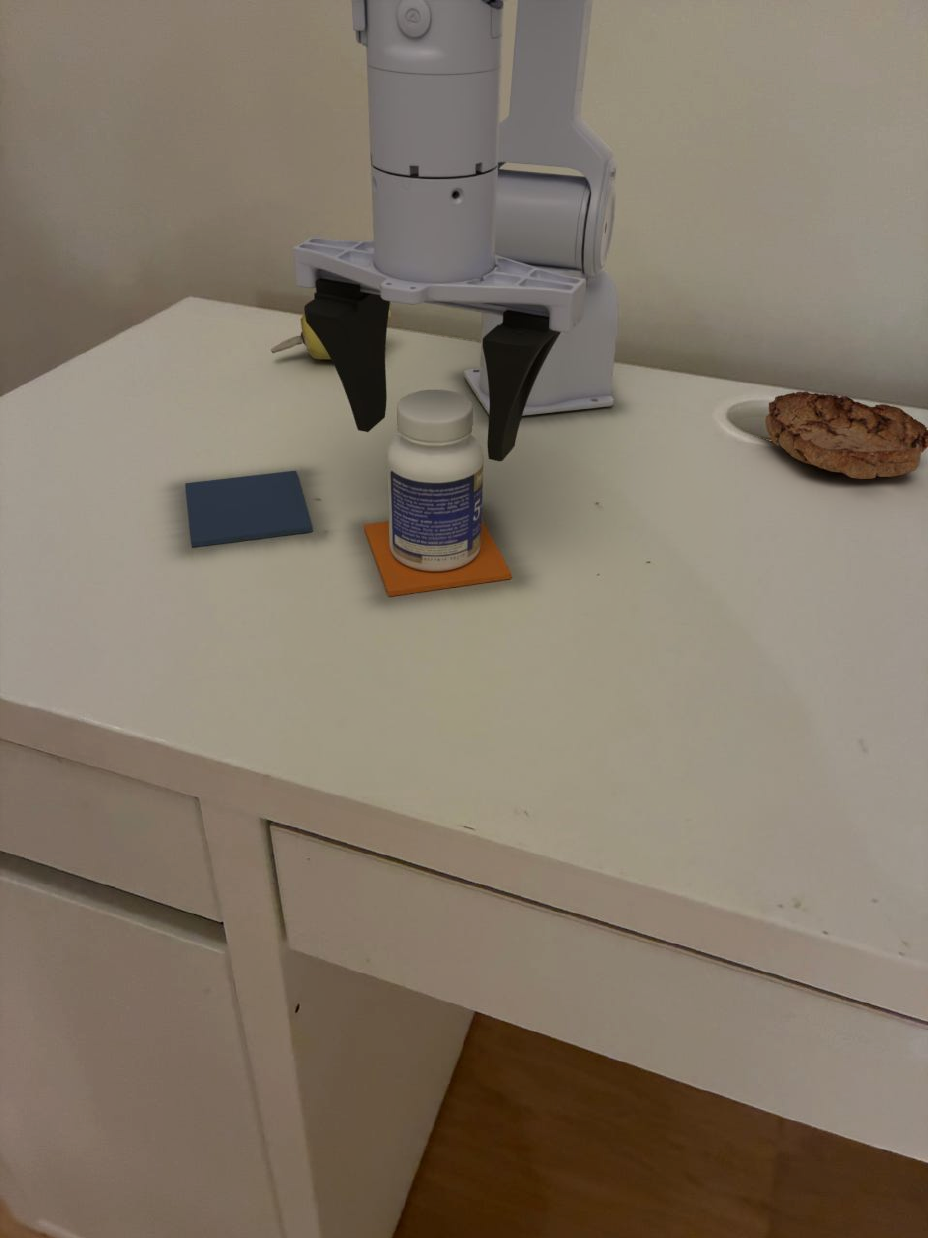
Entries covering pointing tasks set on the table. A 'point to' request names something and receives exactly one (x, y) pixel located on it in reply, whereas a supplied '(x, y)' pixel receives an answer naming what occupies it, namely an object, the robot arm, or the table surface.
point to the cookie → (846, 434)
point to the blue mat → (246, 508)
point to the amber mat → (413, 580)
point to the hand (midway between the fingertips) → (435, 437)
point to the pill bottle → (435, 482)
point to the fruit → (308, 341)
